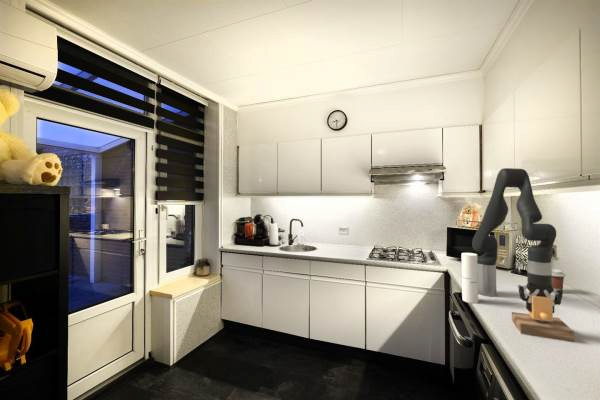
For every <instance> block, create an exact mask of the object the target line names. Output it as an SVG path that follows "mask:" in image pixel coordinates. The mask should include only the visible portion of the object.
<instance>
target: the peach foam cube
mask: <svg viewBox="0 0 600 400" xmlns="http://www.w3.org/2000/svg"><path fill="white" fill-rule="evenodd" d="M529 292H530V291H528V292H527V294H528V293H529ZM530 295H532V294H530ZM553 301H554V300H553V298H552V297H551V298H547V297H542V296H532V302H531V303H532V312H529V311H528V310H527V311H528V312H527V314H529V315H530V316H531V317H532V318H533V319H535V320H543V321H550V322H553V317H554V313H553Z"/></svg>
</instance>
